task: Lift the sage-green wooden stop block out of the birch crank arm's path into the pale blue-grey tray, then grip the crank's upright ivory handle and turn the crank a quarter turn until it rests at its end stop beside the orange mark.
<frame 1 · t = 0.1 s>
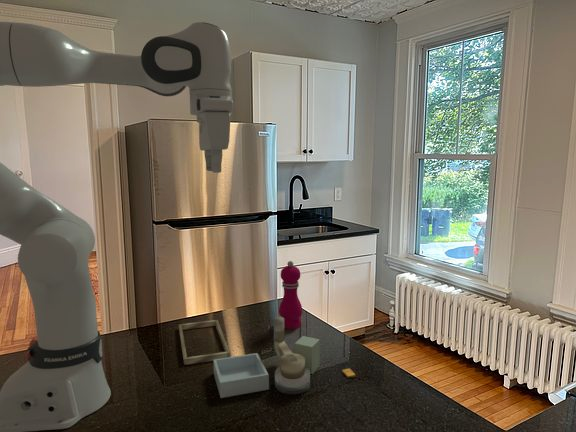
hand: (213, 171, 90), 48 cm above the counter, tool pointing down, fingers open, 8 cm apart
crank base: (292, 384, 94), on the counter
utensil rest: (202, 342, 116), on the counter
tray: (240, 381, 96), on the counter
stop block: (307, 368, 101), on the counter
crank: (286, 345, 98), point 7 cm above the counter, hinge at 90.0°
pepper mill: (290, 325, 128), on the counter
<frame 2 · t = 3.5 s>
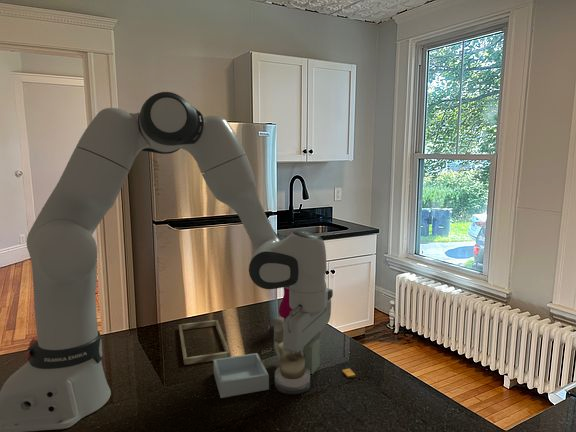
hand: (308, 353, 101), 4 cm above the counter, tool pointing down, fingers open, 8 cm apart
crank: (286, 345, 98), point 7 cm above the counter, hinge at 90.0°, touching gripper
everything else where it was.
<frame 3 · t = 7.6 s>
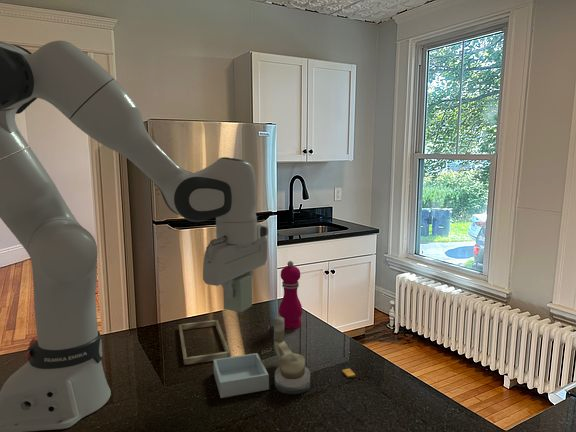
hand: (237, 293, 93), 21 cm above the counter, tool pointing down, fingers closed on stop block, 4 cm apart
stop block: (238, 307, 93), point 18 cm above the counter, touching gripper
crank: (286, 345, 98), point 7 cm above the counter, hinge at 90.0°
everything else where it was.
when the fingers open (5 cm above the counter, at t = 11.0 s): stop block drops 1 cm, resting on tray.
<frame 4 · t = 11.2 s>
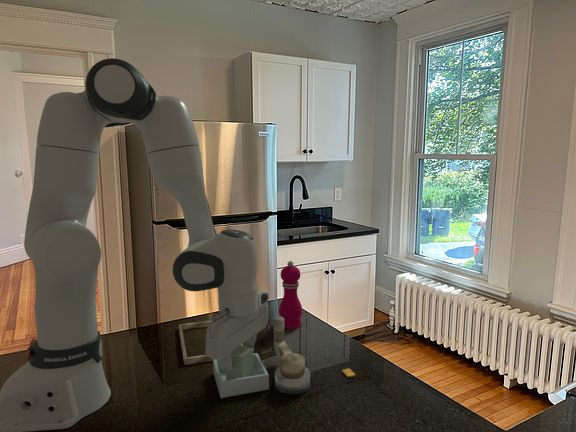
hand: (239, 360, 95), 5 cm above the counter, tool pointing down, fingers open, 7 cm apart
stop block: (239, 379, 96), resting on tray
everything else where it was.
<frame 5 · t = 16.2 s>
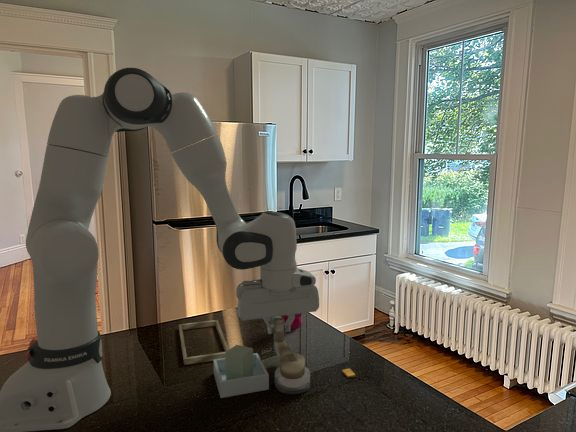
hand: (279, 331, 103), 8 cm above the counter, tool pointing down, fingers closed on crank, 3 cm apart
crank: (286, 345, 98), point 7 cm above the counter, hinge at 90.0°, touching gripper
everything else where it was.
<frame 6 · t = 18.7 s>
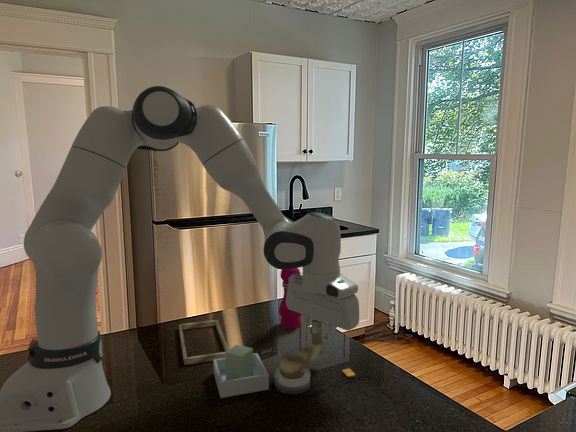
hand: (319, 335, 101), 8 cm above the counter, tool pointing down, fingers open, 4 cm apart
crank: (303, 346, 97), point 7 cm above the counter, hinge at 36.8°, touching gripper
everything else where it was.
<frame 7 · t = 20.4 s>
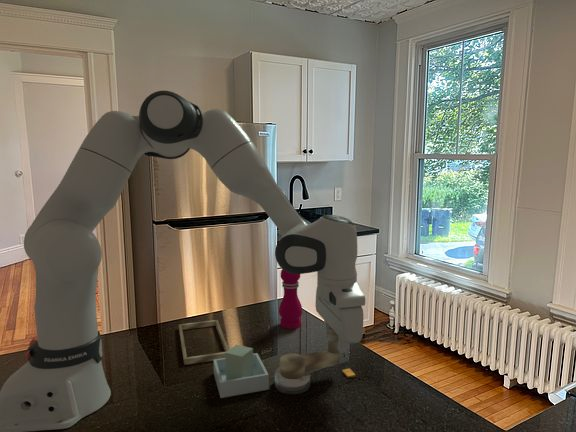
hand: (336, 344, 96), 8 cm above the counter, tool pointing down, fingers open, 5 cm apart
crank: (310, 350, 95), point 7 cm above the counter, hinge at 4.8°
everything else where it was.
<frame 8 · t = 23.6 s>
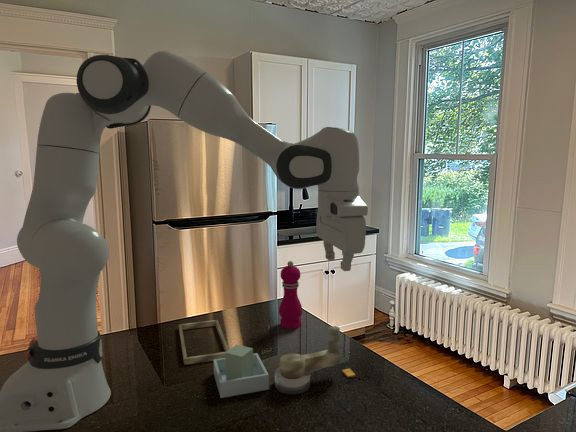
hand: (337, 264, 93), 27 cm above the counter, tool pointing down, fingers open, 8 cm apart
nothing on the counter moved.
at the end: stop block 0.1 cm off-centre on the tray, point 0.5 cm above the tray's base; stop block tilted 0°; crank at +5° (first picture: +90°) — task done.
